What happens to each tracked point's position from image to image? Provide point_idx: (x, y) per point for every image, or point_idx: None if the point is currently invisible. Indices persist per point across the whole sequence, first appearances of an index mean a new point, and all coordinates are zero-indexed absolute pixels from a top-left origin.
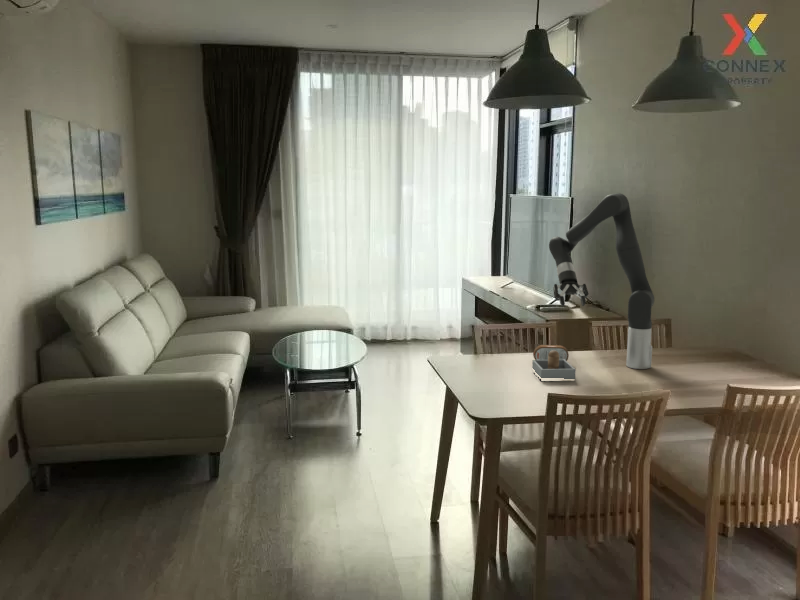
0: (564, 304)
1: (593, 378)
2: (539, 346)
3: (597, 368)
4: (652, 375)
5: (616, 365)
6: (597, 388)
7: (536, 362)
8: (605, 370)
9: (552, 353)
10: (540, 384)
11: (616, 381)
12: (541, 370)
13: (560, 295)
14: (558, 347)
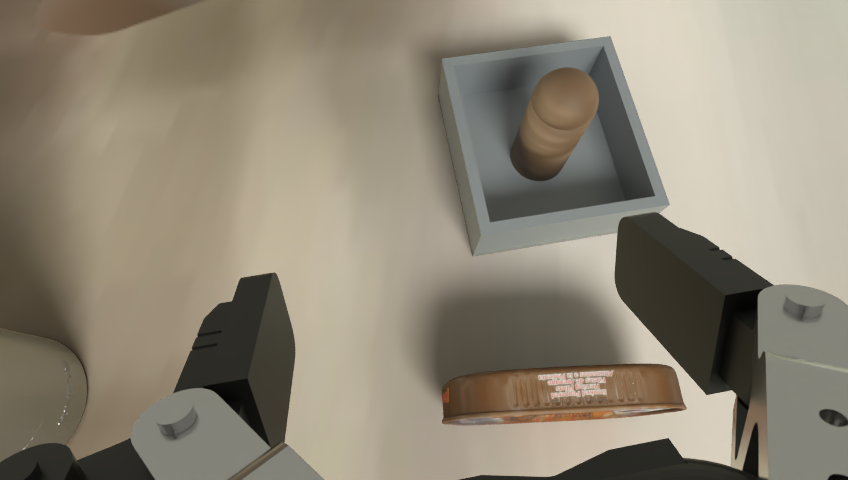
0: (620, 230)
1: (343, 148)
2: (663, 389)
3: None
4: (21, 228)
5: None
6: (356, 18)
7: (643, 155)
8: None
9: (578, 69)
10: None
11: (245, 114)
12: (608, 39)
13: (819, 296)
14: (524, 370)
